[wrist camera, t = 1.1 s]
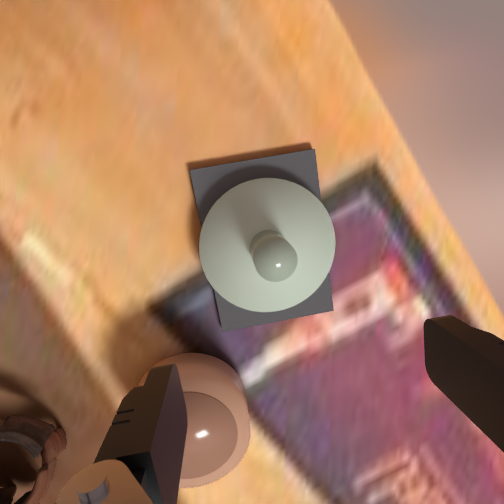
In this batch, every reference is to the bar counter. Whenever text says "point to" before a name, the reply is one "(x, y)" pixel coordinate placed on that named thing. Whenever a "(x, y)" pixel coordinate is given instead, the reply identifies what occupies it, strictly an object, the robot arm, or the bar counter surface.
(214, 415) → the bowl
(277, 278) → the lid
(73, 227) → the bar counter surface
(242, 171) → the mat
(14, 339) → the bar counter surface
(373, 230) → the bar counter surface
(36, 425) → the pottery mug
